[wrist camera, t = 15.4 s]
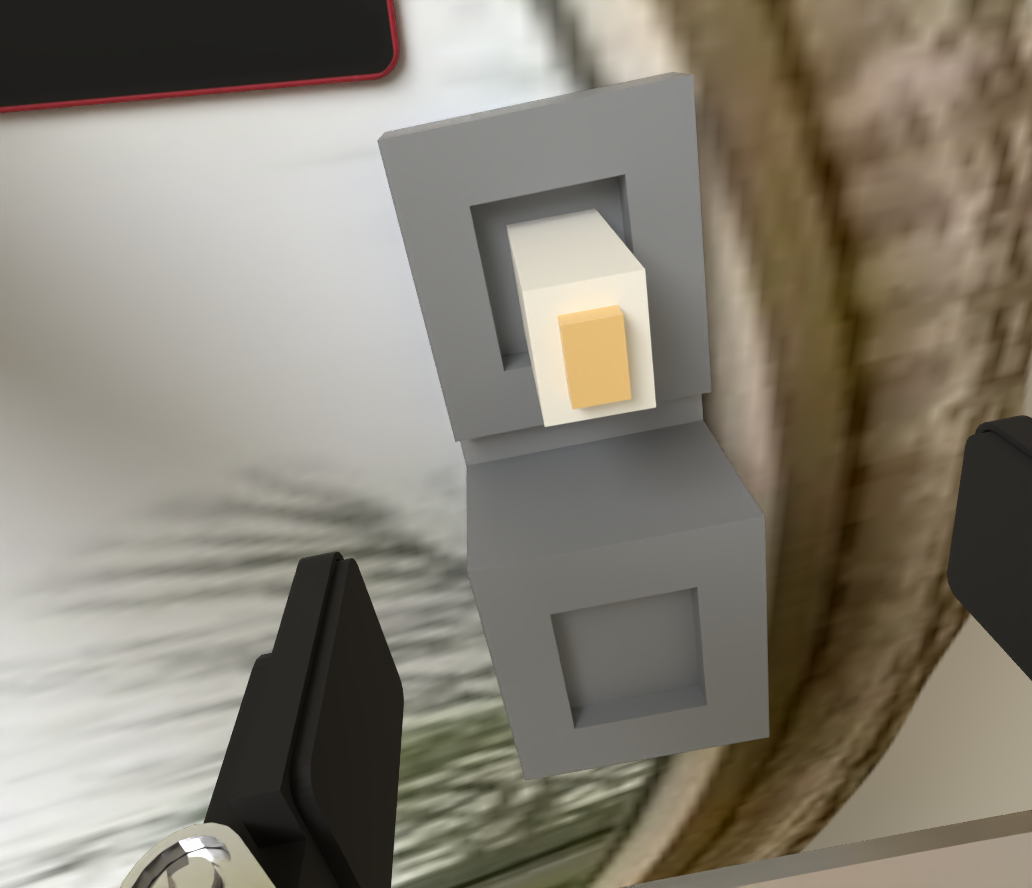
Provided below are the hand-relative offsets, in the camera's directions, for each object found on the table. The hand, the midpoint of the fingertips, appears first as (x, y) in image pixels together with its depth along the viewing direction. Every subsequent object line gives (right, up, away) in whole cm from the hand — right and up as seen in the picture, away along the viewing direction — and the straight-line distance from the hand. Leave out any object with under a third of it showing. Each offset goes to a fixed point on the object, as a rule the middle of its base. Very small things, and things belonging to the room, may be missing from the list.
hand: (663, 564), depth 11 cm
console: (0, +3, +19) cm, 20 cm away
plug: (-1, +8, +16) cm, 18 cm away
